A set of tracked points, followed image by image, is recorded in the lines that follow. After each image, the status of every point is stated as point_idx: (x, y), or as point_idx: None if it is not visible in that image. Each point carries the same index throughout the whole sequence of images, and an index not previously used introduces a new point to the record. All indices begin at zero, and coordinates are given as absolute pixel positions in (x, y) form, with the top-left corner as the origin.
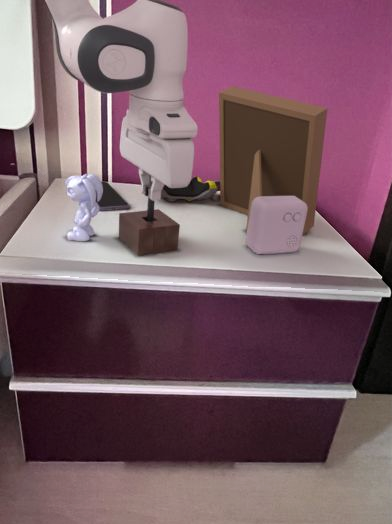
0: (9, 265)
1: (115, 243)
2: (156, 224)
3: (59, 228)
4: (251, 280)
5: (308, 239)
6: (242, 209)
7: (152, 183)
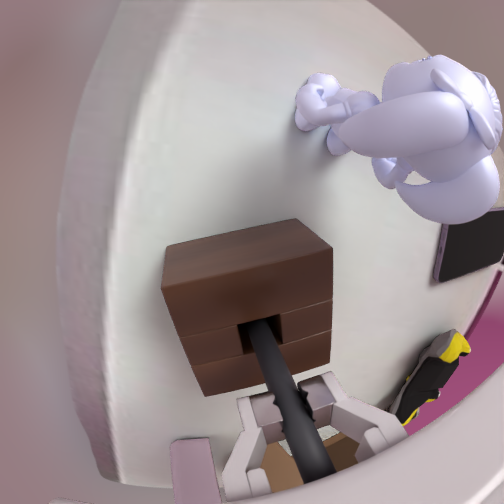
0: None
1: (265, 201)
2: (207, 347)
3: None
4: (75, 407)
5: None
6: (340, 437)
7: (246, 463)
